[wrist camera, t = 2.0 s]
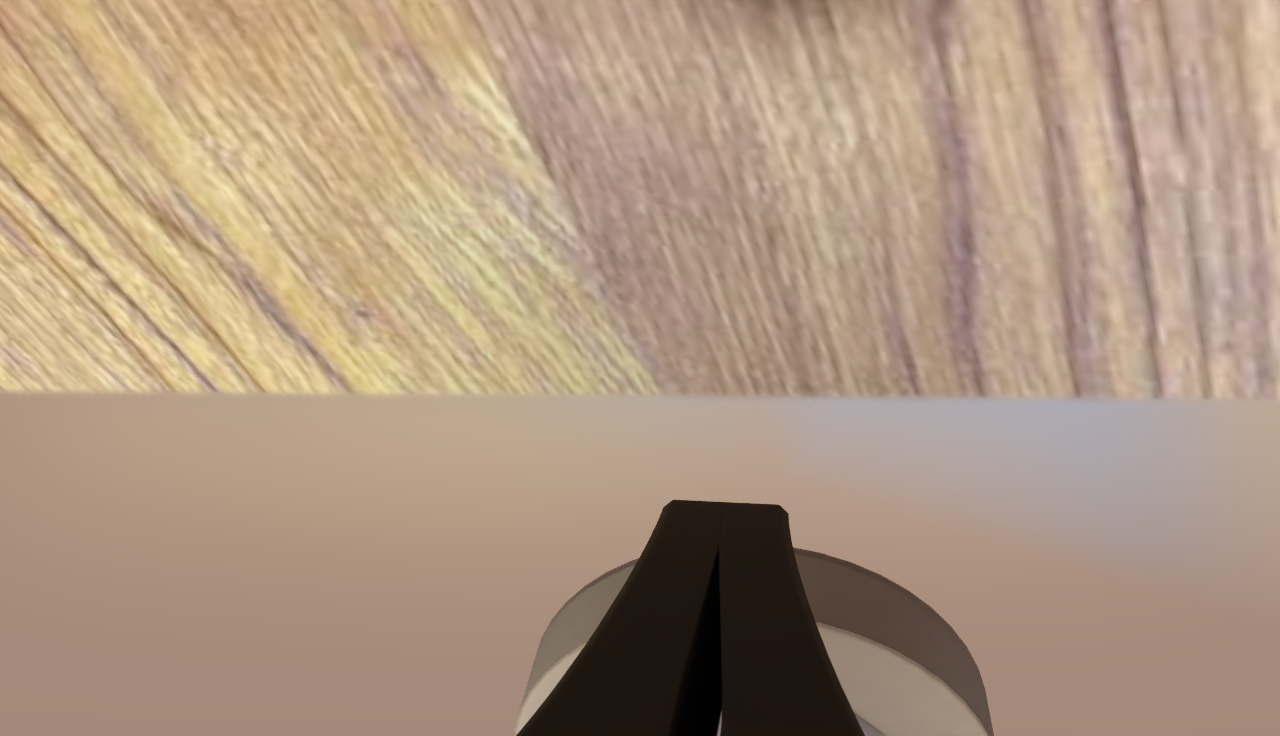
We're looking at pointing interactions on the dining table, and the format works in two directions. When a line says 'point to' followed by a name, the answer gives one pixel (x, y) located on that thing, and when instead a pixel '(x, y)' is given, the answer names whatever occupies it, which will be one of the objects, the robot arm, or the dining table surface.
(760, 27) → the dining table surface
